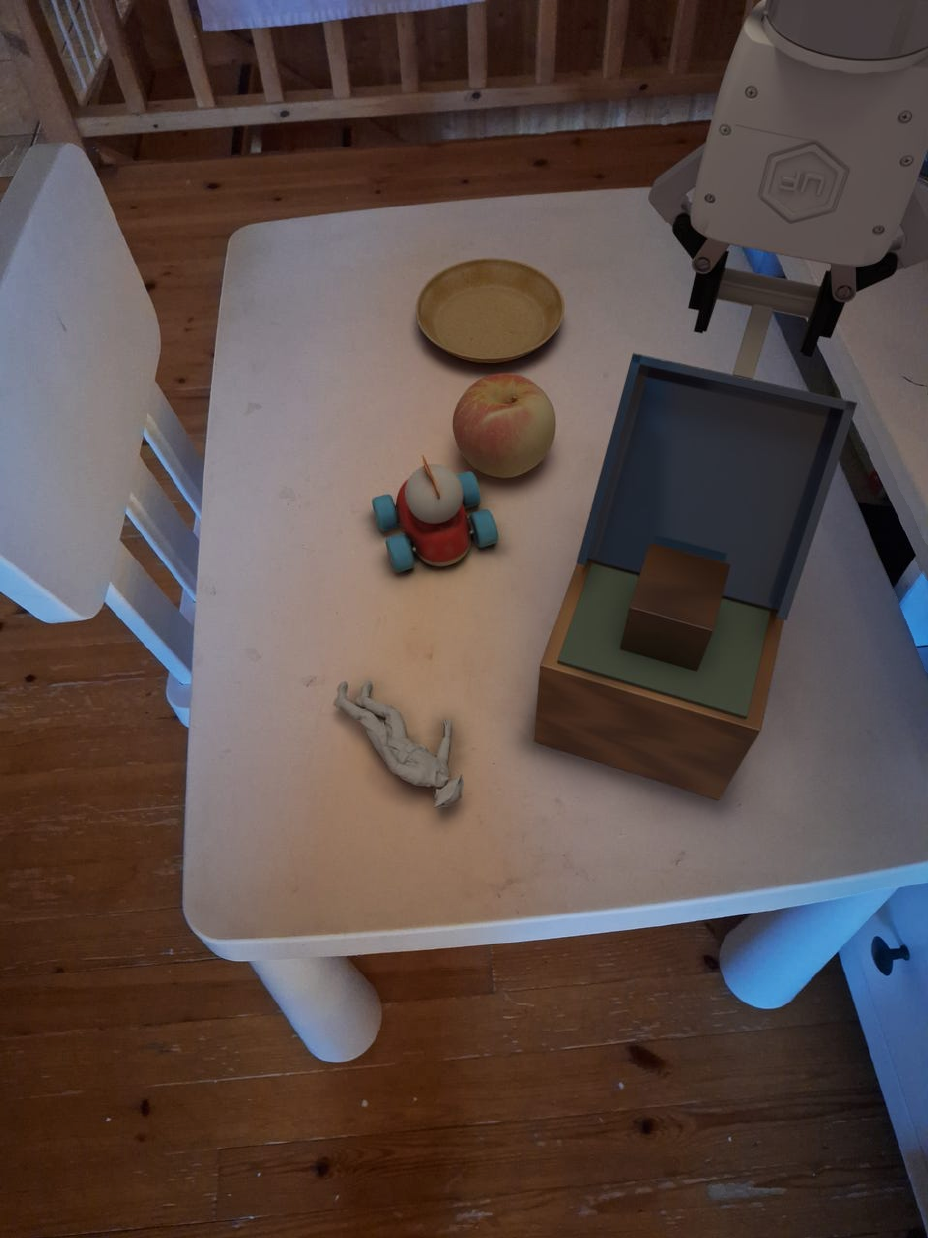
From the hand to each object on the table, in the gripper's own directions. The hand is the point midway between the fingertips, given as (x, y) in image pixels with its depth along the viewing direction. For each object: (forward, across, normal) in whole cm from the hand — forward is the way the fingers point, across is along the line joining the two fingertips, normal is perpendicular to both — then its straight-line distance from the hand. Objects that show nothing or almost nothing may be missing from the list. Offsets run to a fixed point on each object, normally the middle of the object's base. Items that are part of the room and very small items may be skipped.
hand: (756, 326), depth 54 cm
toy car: (+26, -21, -3) cm, 33 cm away
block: (+10, 0, -12) cm, 16 cm away
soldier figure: (+26, -16, -23) cm, 38 cm away
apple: (+26, -18, +7) cm, 32 cm away
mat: (+13, 0, -14) cm, 20 cm away
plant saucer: (+26, -25, +23) cm, 42 cm away
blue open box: (+7, 0, -3) cm, 7 cm away
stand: (+25, 0, -8) cm, 26 cm away
